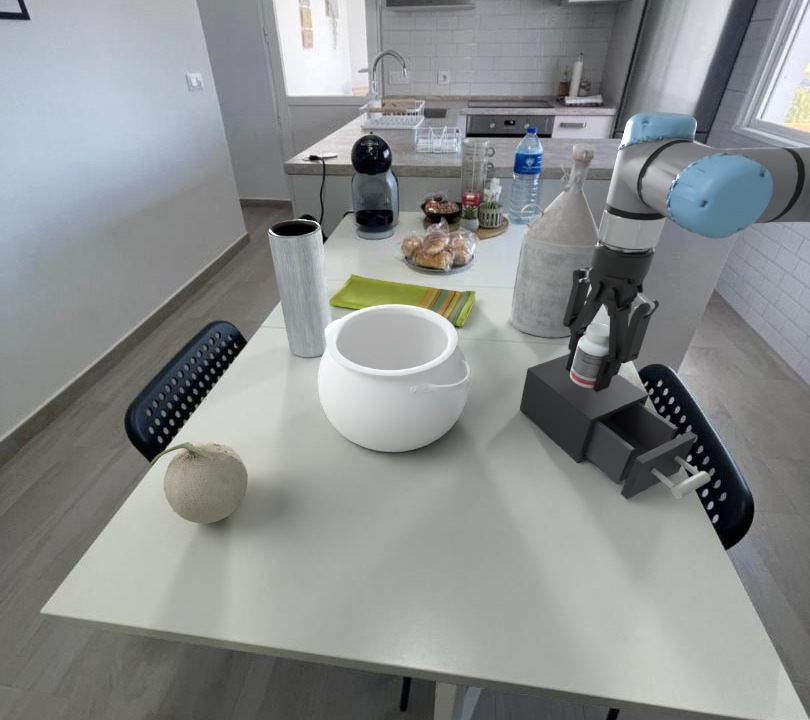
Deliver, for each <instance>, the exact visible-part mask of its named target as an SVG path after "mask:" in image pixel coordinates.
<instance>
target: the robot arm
mask: <svg viewBox="0 0 810 720" xmlns="http://www.w3.org/2000/svg"><path fill="white" fill-rule="evenodd" d="M697 123H698V122H697V120H696V119H695V117H694V116H692V115H690V114H685V113H677V112H661V111H656V112H655V111H653V112H651V111H650V112H649V111H648V112H640V113H636V114H634V115H633V116H631V117H630V118H629V119H628V121H627V122H626V125H625V128H624V132H623V135H622V139H621V142H620V145H618V147H617V155H616V157H615V158H616V159H615V163H614V168H613V171H612V176H611V180H610V184H609V188H608V193H607V198H606V202H605V207H604V208H603V213H602V217H601V220H600V224H599V228H598V238H599V240H598V241H597V242H596V244H595V248H594V252H593V256H592V260H591V266H592V268H591V269H589V268H588V267H585V268H581V269H578V270H574V271H573V286H572V290H571V294H570V298H569V301H568V305H567V309H566V313H565V316H564V320H563V325H564V326H565V327H568V328H569V329H570V333H571V335H570V338H569V341H568V346H567V347H568V349H567V350H568V351H569V353H568V354H569V358H568V362H567V366H566V370H567V371H568V372H570V371H571V368H572V364H573V361H574V357H575V353H576V349H577V345H578V342H579V339H580V338H581V337H582V336H584V335H585V334H586V330H587V327H588V325H590V324H592V322H593V321H594V319H595V317H596V316H597V314H598V313H599V311H600V310H601V308H602V306H603V305H604V306H605V307H606V308H607V316H608V317H609V326H610V330H609V355H606V356H603V358H602V362H601V365H600V368H599V372H598V375H597V378H596V381H595V385H594V388H593V390H594V391H596V392H598V391H601V390H603V389H606V388H608V387H609V385H610V382H611V379H612V377H613V376H615V375H617V374H619V372H620V369H621V367H622V364H626V363H629V362H632V361H634V360H635V361H636V360H637V359H638V358H639V356H640V352H641V349H642V346H643V342H644V339H645V337H646V333H647V330H648V328H649V324H650V320H651V317H652V315H653V314H654V313H655V312H656V310H657V309H658V308H659V306H660V302H659V301H658V300H657V299H652V300H651V299H650V298H649V297H648V296H647V295H645V293H644V280H645V278H646V277H647V275H648V274H649V272H650V269H651V265H652V262H653V259H654V257H655V253H656V249H655V247H656V246H657V245H658V243H659V241H660V237H661V234H662V231H663V228H664V226H665V223H666V219H668V220H670V221H672V222H673V223H675V224H676V225H677V226H678V227H679V228H681V229H683V230H684V229H685V230H686V231H688V232H690V233H693V234H697V235H699V236H701V237H705V238H708V239H713V240H715V239H726V238H729V237H731V236H733V235H735V234H736V233H739V232H741V231H745V230H746V229H748V228H750V227H751V226H752V225H753V224H769V223H810V145H809V146H808V145H807V146H792V147H790V146H789V147H783V146H780V147H744V148H743V147H739V148H716V147H710V146H706V145H703V144H698V143H695V142H694V141H695V138H696V137H695V135H696V130H697V126H698V124H697ZM589 286H590V287H591V289H590V287H589ZM588 290H589V291H588ZM587 293H588V295H587ZM586 297H587V298H586ZM585 301H586V302H585ZM633 302H634V306H633ZM584 304H585V305H584ZM632 311H633V313H632ZM631 313H632V315H631V318H630V314H631ZM629 319H630V321H629Z"/></svg>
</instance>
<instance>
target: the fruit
mask: <svg viewBox="0 0 810 720" xmlns="http://www.w3.org/2000/svg"><path fill="white" fill-rule="evenodd" d="M180 449H181V450H180ZM176 450H180V451H179V452H177V453H176V454H175V455H174V456H173V457H172V459H171V460H170V462H169V463H168V465H167V468H166V470H165V473H164V477H163V492H164V496H165V498H166V501H167V503H168V504H169V506H170V508H171V509H172V510H173V512H174V513H176V514H177V515H178V517H180V518H182V519H183V520H185V521H188V522H191V523H195V524H210V523H216V522H218V521H221V520H223V519H225V518H227V517H229V516H230V515H231V514H233V513H234V512H235V510H237V509H238V507H240V504H241V503H242V501H243V500H244V498H245V496H246V492H247V489H248V488H247V487H248V479H249V478H248V475H249V474H248V470H247V467H246V466H245V465H246V464H245V463H244V460H242V458H241V456H240V455H239V454H238V453H237V452H236V451H235V450H234V449H233V448H232V447H231V446H229V445H227V444H225V443H222V442H219V441H199V442H196V443H192V442H191V441H187V442H184V443H180V444H177V445H174V446H172V447H170V448H167V449H165V450H163V451H161V452H160V453H158V454H157V455H156V456H154V458H153V459H152V461H151V462H150V464H149V465H150V467H152V466H153V465H154V463H156V461H158V459H160V458H161V457H163V456H164V455H166V454H169V453H170V452H173V451H176Z"/></svg>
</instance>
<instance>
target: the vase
mask: <svg viewBox="0 0 810 720" xmlns="http://www.w3.org/2000/svg"><path fill="white" fill-rule="evenodd" d="M267 235H268V242H269V246H270V252H271V258H272V263H273V267H274V268H273V269H274V272H275V273H274V274H275V278H276V283H277V288H278V294H279V300H280V305H281V311H282V315H283V321H284V326H285V331H286V336H287V342H288V346H289V347H288V348H289V350H290V351H291V353H292V355H293V354H294V355H295V356H297V357H301V358H317V357H322V356H323V354H324V352H325V348H326V347H327V344H326V339H325V332H324V330H325V328H326V327H327V326H328V325H329V324H330V323H331V322H333V318H332V310H331V305H330V293H329V292H330V291H329V285H328V283H329V282H328V277H327V276H328V275H327V268H326V259H325V250H324V241H323V233H322V226H321V225H320V224H319V223H318V222H316V221H313V220H307V219H292V220H290V219H289V220H284V221H281V222H277V223H275V224H273V225H271V226H270V227H269V228H268V229H267Z"/></svg>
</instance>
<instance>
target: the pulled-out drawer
mask: <svg viewBox="0 0 810 720" xmlns="http://www.w3.org/2000/svg"><path fill="white" fill-rule="evenodd" d="M678 429H679V427H677V426H676V425H674V424H673V423H672V422H670V421H669V420H668V419H666V418H664V417H663V416H661V415H660V414H659V413H658V412H656V411H655V410H653V409H652V408H650V407H649V406H647V405H646V404H645V405H644V404H643V403H641V402H638V403H636V404H634V405H631V406H629V407H627V408H624V409H622V410H620V411H617V412H615V413H613V414H611V415H608V416H606V417H604V418H601V419H599V420H597V421H595V422H594V423H593V426H592V429H591V432H590V435H589V438H588V441H587V444H586V447H585V450H584V453H583V454H584V455H585V456H586V457H587V459H588V460H590V461H591V462H592V463H593V464H594V465H595V466H596V467H597V468H599V469H600V470H601V471H602V473H604V474H605V475H606V476H607V477H608V478H609V479H610V480H612V481H613V482H614V483H615V484H616V485H619V484H621V483H622V482H625V483H624V485H623V487H622V490H621V492H620V495H621V496H622V497H623V498H624V499H626V500H629V499H632V498H633V497H635V496H636V495H639V494H640V493H643V492H644V491H646V490H648V489H650V488H651V487H653V486H655V485H656V484H658V483H661V482H662V483H663V484H665V485H666V486H667V487H668V488H669V489H670V492H671V494H672V495H673V496H674V498H676V499H682V498H683V497H685V496H687V495H689V494H690V493H692V492H694V491H696V490H697V489H700V487H702V486H704V485H706V484H707V483H709V482H710V481H711V475H710V474H709V472H706V471H704V470H701V471H699V470H698V469H697V468H695V467H694V466H692V464H689V463H688V462H687V461H686V458H687V456H688V455H689V453H690V451H691V450H692V449H691V448H692V447H693V445H694V443H695V441H696V439H697V437H698V436H697V435H696V434H695V433H693V432H692V431H690V430H689V431H687V432H685V433H683V434H681V435H679V436H677V437H675V436H676V434H677V431H678ZM682 467H683V468H684V469H686V470H687V471H688V472H689V473H690V474H692V476H690V477H688V478H686V479H684V480H682V481H680V482H679V483H676V484H675V483H674V482H673V481H671V480H670V479H669V477H671V476H673V475H675V474H677V473H678V472H680V469H681V468H682Z"/></svg>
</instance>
